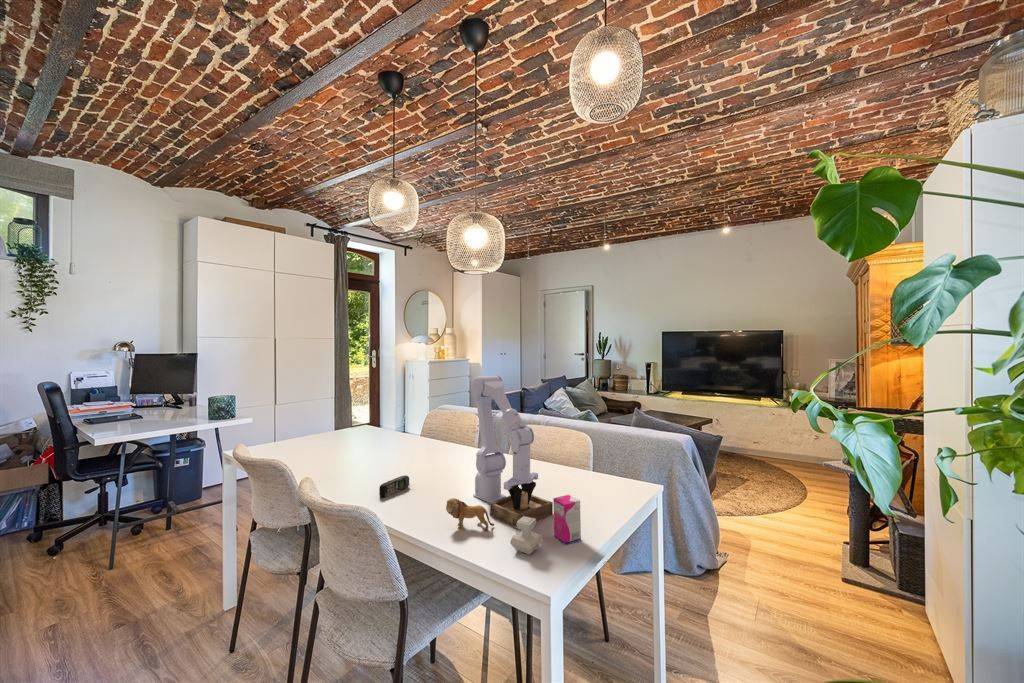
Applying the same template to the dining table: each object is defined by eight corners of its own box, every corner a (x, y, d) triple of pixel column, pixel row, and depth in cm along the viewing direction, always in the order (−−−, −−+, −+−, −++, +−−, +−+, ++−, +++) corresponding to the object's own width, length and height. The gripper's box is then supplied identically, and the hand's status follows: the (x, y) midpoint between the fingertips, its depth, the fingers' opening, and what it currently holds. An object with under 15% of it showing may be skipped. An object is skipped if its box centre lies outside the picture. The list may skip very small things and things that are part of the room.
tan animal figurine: (445, 532, 123) (445, 502, 123) (447, 524, 128) (447, 495, 128) (494, 530, 123) (494, 501, 123) (494, 522, 129) (494, 494, 129)
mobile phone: (383, 486, 148) (412, 473, 161) (377, 484, 149) (407, 471, 162) (383, 499, 148) (413, 485, 161) (377, 498, 149) (407, 484, 162)
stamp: (546, 549, 113) (546, 518, 113) (535, 560, 107) (535, 528, 107) (518, 540, 118) (518, 511, 118) (506, 551, 112) (506, 520, 112)
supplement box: (569, 531, 123) (569, 493, 123) (581, 540, 118) (581, 500, 118) (552, 536, 120) (553, 497, 120) (564, 545, 115) (564, 504, 115)
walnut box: (490, 515, 134) (490, 503, 134) (521, 502, 145) (521, 491, 145) (521, 529, 124) (521, 516, 124) (552, 514, 135) (552, 502, 135)
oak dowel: (513, 511, 134) (513, 493, 134) (521, 507, 137) (521, 489, 137) (521, 515, 131) (521, 496, 131) (530, 511, 134) (530, 493, 134)
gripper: (514, 472, 126) (514, 516, 126) (545, 462, 137) (545, 502, 137) (499, 467, 131) (498, 509, 131) (529, 457, 141) (529, 497, 142)
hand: (521, 505), depth 134 cm, fingers closed on oak dowel, 4 cm apart
